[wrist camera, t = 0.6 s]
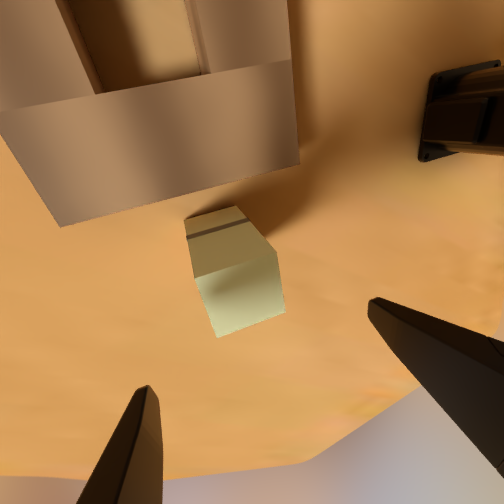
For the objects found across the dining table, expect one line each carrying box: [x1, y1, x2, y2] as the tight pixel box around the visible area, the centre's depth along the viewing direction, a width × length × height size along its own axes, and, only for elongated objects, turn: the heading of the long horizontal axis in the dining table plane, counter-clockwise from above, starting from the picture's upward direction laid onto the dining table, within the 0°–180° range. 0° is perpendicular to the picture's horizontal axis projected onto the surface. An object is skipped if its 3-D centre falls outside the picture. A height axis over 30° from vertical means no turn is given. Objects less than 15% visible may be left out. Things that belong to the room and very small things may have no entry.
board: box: [0, 0, 300, 227], centre depth 11 cm, size 14×16×3 cm
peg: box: [184, 206, 286, 338], centre depth 16 cm, size 4×4×8 cm
